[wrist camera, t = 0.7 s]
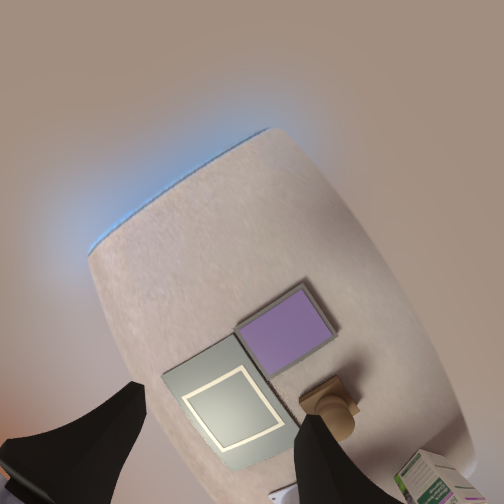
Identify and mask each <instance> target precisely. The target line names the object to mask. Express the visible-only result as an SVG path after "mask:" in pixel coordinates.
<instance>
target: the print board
mask: <svg viewBox="0 0 504 504" xmlns="http://www.w3.org/2000/svg"><path fill="white" fill-rule="evenodd" d="M161 378H162V379H163V381H164V383H165V384H166V386H167V387H168V389H169V390H170V392H171V393H172V395H173V396H174V398H175V399H176V401H177V402H178V404H179V405H180V407H181V408H182V410H183V411H184V413H185V414H186V415H187V417H188V418H189V420H190V421H191V422H192V424H193V425H194V426H195V428H196V429H197V430H198V432H199V433H200V434H201V436H202V437H203V438H204V439H205V441H206V442H207V443H208V445H209V446H210V447H211V448H212V449H213V451H214V452H215V453H216V454H217V456H218V457H219V458H220V459H221V460H222V461H223V463H224V464H225V465H226V466H227V467H228V468H229V470H230V471H231V472H235V471H237V470H240V469H243V468H246V467H248V466H251V465H254V464H256V463H259V462H261V461H264V460H266V459H268V458H271V457H273V456H275V455H278V454H280V453H282V452H284V451H286V450H289V449H291V448H293V447H294V439H295V437H296V435H297V433H298V431H299V429H300V427H299V426H298V425H297V423H296V422H295V421H294V419H293V418H292V417H291V415H290V414H289V413H288V411H287V410H286V409H285V407H284V406H283V405H282V403H281V402H280V400H279V399H278V398H277V396H276V395H275V393H274V392H273V391H272V389H271V388H270V386H269V385H268V384H267V382H266V381H265V379H264V378H263V376H262V375H261V373H260V372H259V371H258V369H257V368H256V366H255V365H254V363H253V362H252V360H251V359H250V357H249V356H248V354H247V353H246V351H245V350H244V348H243V347H242V345H241V344H240V342H239V341H238V339H237V338H236V336H235V335H234V334H232V335H230V336H229V337H227V338H226V339H224V340H222V341H221V342H219V343H217V344H216V345H214V346H212V347H211V348H209V349H207V350H206V351H204V352H202V353H201V354H199V355H197V356H195V357H194V358H192V359H190V360H189V361H187V362H185V363H183V364H182V365H180V366H178V367H176V368H174V369H173V370H171V371H169V372H167V373H166V374H164V375H162V376H161Z"/></svg>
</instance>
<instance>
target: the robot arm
mask: <svg viewBox="0 0 504 504" xmlns="http://www.w3.org/2000/svg"><path fill="white" fill-rule="evenodd" d="M146 414H147V413H146V401H145V388H144V385H142V384H139V383H136V382H133V381H131V382H129V383H128V384H127V385H126V386H125V387H123V388H122V389H121V390H120V391H119V392H117V393H116V394H115V395H113V396H112V397H111V398H110V399H108V400H107V401H105V402H104V403H103V404H101V405H100V406H98V407H97V408H96V409H94V410H92V411H91V412H89V413H87V414H86V415H84V416H82V417H81V418H79V419H77V420H75V421H73V422H71V423H69V424H67V425H64V426H62V427H59V428H57V429H54V430H51V431H48V432H45V433H41V434H37V435H34V436H28V437H22V438H13V439H7V440H6V441H5V442H4V443H3V445H2V446H1V447H0V466H1V467H2V468H3V469H4V470H5V471H6V473H7V474H8V475H9V476H10V477H11V478H10V480H9V481H8V480H7V479H6V478H5V477H4V476H3V475H2V474H1V473H0V504H110V503H111V499H112V496H113V493H114V489H115V486H116V483H117V480H118V477H119V474H120V472H121V469H122V467H123V465H124V463H125V461H126V459H127V457H128V455H129V453H130V451H131V449H132V447H133V445H134V443H135V441H136V439H137V437H138V435H139V433H140V431H141V429H142V426H143V423H144V420H145V417H146ZM294 463H295V471H296V478H297V483H296V484H294V485H292V486H289V487H286V488H284V489H281V490H279V491H276V492H273V493H270V494H269V495H268V498H269V499H270V500H271V501H272V502H273V503H274V504H404V503H402V502H400V501H398V500H397V499H395V498H393V497H392V496H390V495H389V494H387V493H386V492H384V491H383V490H382V489H380V488H379V487H378V486H377V485H375V484H374V483H373V482H372V481H370V480H369V479H368V478H367V477H366V476H365V475H364V474H363V473H362V472H361V471H360V470H359V469H358V468H357V467H356V466H355V464H354V463H353V462H352V461H351V460H350V458H349V457H348V456H347V455H346V453H345V452H344V451H343V449H342V448H341V447H340V445H339V444H338V442H337V441H336V439H335V438H334V436H333V435H332V433H331V432H330V430H329V429H328V427H327V425H326V424H325V422H324V421H323V419H322V417H321V416H320V415H312V414H307V415H306V417H305V419H304V421H303V423H302V425H301V427H300V429H299V431H298V433H297V435H296V437H295V439H294Z"/></svg>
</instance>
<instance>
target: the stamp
mask: <svg viewBox="0 0 504 504" xmlns="http://www.w3.org/2000/svg"><path fill="white" fill-rule="evenodd" d="M299 405H300V406H301V407H302V409H303V410H304V411H305V413H306V414H312V415H320V416H321V417H322V419H323V421H324V422H325V424H326V425H327V427H328V429H329V430H330V432H331V433H332V435H333V436H334V438H335V439H336V441H337V442H339V441H342V440H344V439H346V438H347V437H348V436H350V435H351V433H352V432H353V430H354V427H355V421H354V418H353V416H354V415H355V414H357V413H358V412H360V410H359V408H358V407H357V405H356V404H355V402H354V401H353V399H352V398H351V396H350V395H349V393H348V392H347V390H346V389H345V387H344V386H343V384H342V383H341V381H340V380H339V378H338V377H337V375H335V376H333V377H332V378H330V379H329V380H327V381H326V382H324V383H322V384H321V385H319V386H318V387H316V388H314V389H313V390H311V391H309V392H308V393H306V394H304V395H303V396H301V397H299Z"/></svg>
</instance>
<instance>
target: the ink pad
mask: <svg viewBox="0 0 504 504" xmlns="http://www.w3.org/2000/svg"><path fill="white" fill-rule="evenodd" d="M233 330H234V331H235V333H236V334H237V336H238V337H239V339H240V341H241V342H242V344H243V345H244V347H245V348H246V350H247V351H248V353H249V354H250V356H251V357H252V359H253V360H254V362H255V363H256V364H257V366H258V367H259V369H260V370H261V372H262V373H263V375H264V376H265V378H266V379H267V380H270V379H272V378H274V377H275V376H277V375H279V374H281V373H282V372H284V371H286V370H287V369H289V368H291V367H292V366H294V365H295V364H297V363H299V362H300V361H302V360H303V359H305V358H307V357H308V356H310V355H311V354H313V353H314V352H316V351H317V350H319V349H320V348H322V347H323V346H325V345H326V344H328V343H329V342H331V341H332V340H334V339H335V338H336V337H338V334H337V333H336V331H335V330H334V328H333V327H332V325H331V324H330V322H329V321H328V319H327V318H326V316H325V315H324V313H323V312H322V310H321V309H320V307H319V306H318V304H317V303H316V301H315V300H314V298H313V297H312V295H311V294H310V292H309V291H308V289H307V288H306V287H305V285H304V284H303V283H301V284H300V285H298V286H297V287H296V288H294V289H293V290H291V291H290V292H288V293H287V294H285V295H284V296H282V297H281V298H279V299H278V300H276V301H275V302H273V303H272V304H270V305H269V306H267V307H266V308H264V309H263V310H261V311H260V312H258V313H256V314H255V315H253V316H252V317H250V318H249V319H247V320H246V321H244V322H242V323H241V324H239V325H238V326H236V327H234V328H233Z"/></svg>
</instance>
